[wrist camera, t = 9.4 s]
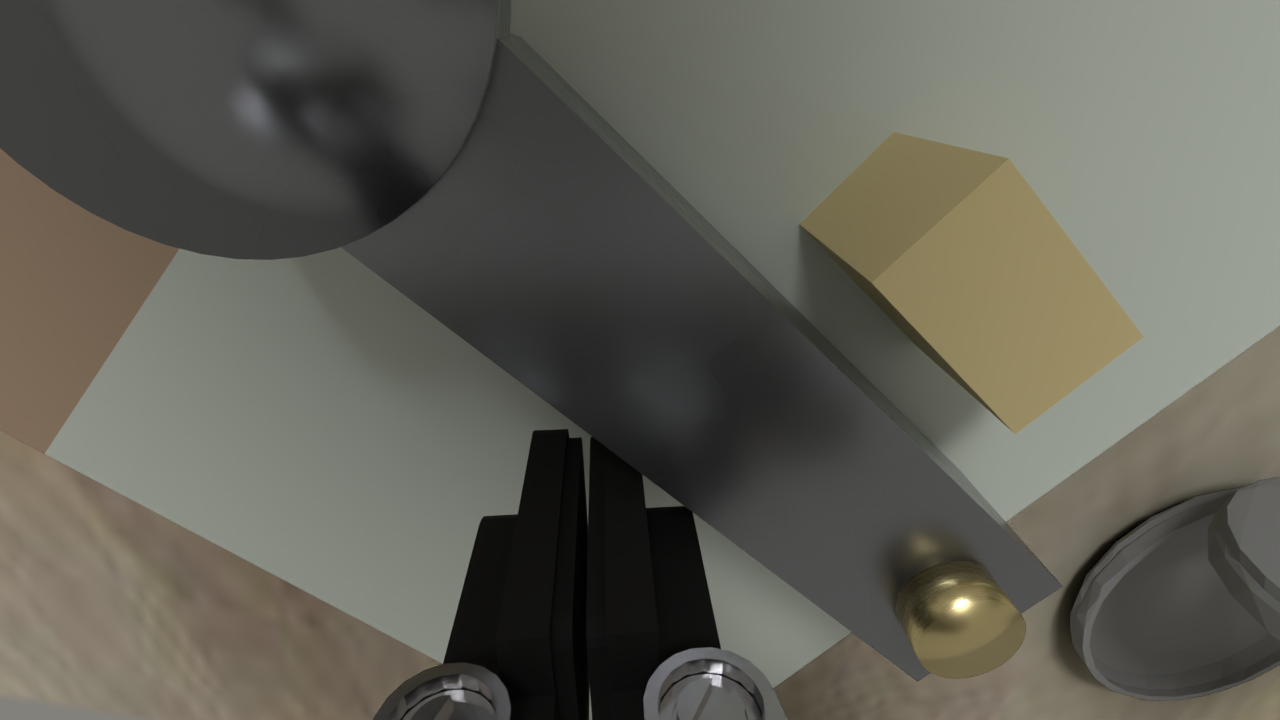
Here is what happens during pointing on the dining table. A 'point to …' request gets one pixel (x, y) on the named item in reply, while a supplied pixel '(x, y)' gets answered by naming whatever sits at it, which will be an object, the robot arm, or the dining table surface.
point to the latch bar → (523, 272)
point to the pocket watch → (1187, 598)
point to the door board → (755, 226)
